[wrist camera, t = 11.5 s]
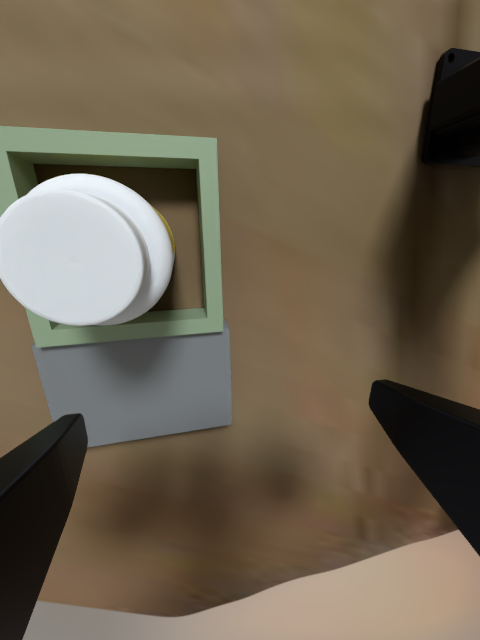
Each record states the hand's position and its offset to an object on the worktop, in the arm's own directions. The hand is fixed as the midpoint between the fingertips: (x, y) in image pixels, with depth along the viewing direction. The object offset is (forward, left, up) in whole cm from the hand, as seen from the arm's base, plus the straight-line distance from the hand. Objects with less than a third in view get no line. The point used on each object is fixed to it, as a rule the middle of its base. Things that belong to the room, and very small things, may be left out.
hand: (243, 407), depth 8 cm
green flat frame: (+5, 0, -12) cm, 13 cm away
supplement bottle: (+5, -4, -12) cm, 14 cm away
